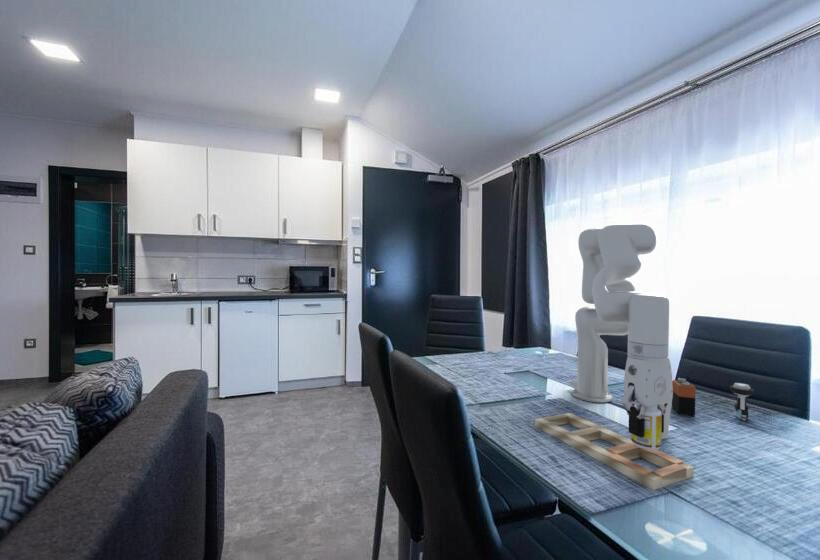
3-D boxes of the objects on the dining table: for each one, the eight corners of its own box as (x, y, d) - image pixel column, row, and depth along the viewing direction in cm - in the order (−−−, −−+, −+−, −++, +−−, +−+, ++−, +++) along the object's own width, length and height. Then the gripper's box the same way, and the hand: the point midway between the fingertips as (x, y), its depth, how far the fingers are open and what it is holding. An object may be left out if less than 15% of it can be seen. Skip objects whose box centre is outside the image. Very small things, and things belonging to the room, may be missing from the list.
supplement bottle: (653, 440, 82) (654, 395, 82) (666, 452, 77) (667, 404, 77) (626, 438, 83) (627, 394, 83) (638, 450, 78) (638, 402, 78)
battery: (687, 409, 117) (688, 378, 117) (695, 416, 111) (696, 384, 111) (671, 407, 119) (671, 376, 118) (678, 414, 112) (679, 382, 112)
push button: (756, 424, 106) (757, 389, 105) (732, 419, 109) (732, 386, 108) (751, 416, 111) (751, 384, 111) (728, 412, 114) (728, 381, 114)
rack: (534, 426, 102) (535, 418, 102) (569, 419, 108) (569, 411, 108) (653, 490, 72) (653, 478, 72) (693, 476, 77) (693, 465, 77)
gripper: (637, 357, 73) (636, 446, 73) (690, 351, 80) (688, 433, 80) (604, 350, 80) (603, 432, 80) (655, 344, 87) (654, 420, 87)
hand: (646, 431), depth 80 cm, fingers closed on supplement bottle, 5 cm apart
